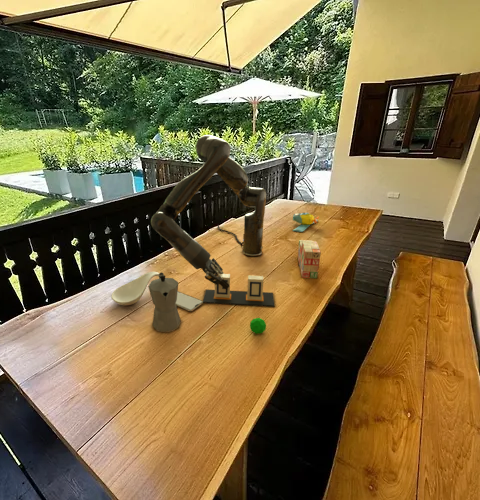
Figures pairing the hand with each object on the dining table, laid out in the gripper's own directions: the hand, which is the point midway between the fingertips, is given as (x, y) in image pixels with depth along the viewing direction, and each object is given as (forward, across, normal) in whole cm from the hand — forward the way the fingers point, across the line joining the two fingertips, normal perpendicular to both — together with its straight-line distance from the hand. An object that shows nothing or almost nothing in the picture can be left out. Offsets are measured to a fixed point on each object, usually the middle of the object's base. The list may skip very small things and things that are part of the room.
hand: (227, 284), depth 111 cm
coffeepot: (-10, -17, +18) cm, 27 cm away
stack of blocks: (+28, +30, -20) cm, 46 cm away
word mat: (+7, 0, +1) cm, 7 cm away
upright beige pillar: (+11, 0, -4) cm, 11 cm away
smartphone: (-8, -4, +16) cm, 18 cm away
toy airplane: (+35, +91, -27) cm, 101 cm away
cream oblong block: (+2, 0, +5) cm, 5 cm away
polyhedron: (+12, -19, -3) cm, 23 cm away
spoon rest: (-20, -1, +28) cm, 34 cm away
